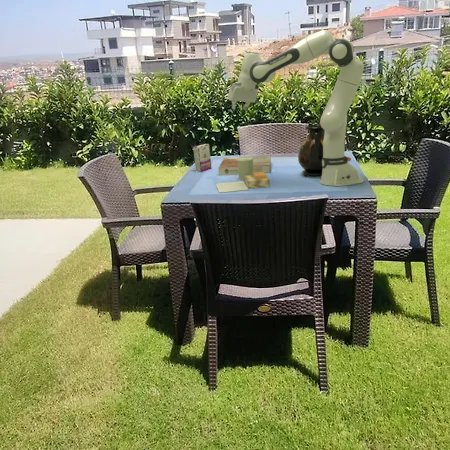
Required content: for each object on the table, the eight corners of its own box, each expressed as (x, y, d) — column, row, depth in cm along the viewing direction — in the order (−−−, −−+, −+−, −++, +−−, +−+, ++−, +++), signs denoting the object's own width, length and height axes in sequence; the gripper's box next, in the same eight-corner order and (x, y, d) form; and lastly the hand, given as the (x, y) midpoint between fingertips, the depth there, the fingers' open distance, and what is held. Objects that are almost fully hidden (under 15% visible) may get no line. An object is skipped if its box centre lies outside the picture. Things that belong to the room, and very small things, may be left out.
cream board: (243, 181, 256) (243, 180, 256) (248, 190, 237) (248, 189, 237) (215, 184, 255) (215, 183, 255) (219, 193, 236) (219, 192, 236)
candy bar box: (206, 168, 300) (203, 143, 295) (211, 168, 298) (209, 144, 292) (195, 171, 292) (192, 146, 287) (200, 172, 289) (198, 147, 284)
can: (240, 180, 259) (239, 160, 255) (237, 177, 267) (235, 157, 263) (255, 178, 260) (254, 158, 256) (251, 175, 269) (250, 156, 265)
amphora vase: (336, 177, 248) (336, 127, 239) (297, 178, 253) (296, 129, 244) (335, 169, 268) (335, 122, 259) (299, 170, 273) (298, 124, 263)
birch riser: (264, 180, 254) (264, 173, 253) (269, 186, 241) (269, 179, 240) (244, 182, 253) (243, 176, 252) (247, 188, 240) (247, 181, 239)
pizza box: (218, 168, 274) (223, 158, 304) (219, 176, 276) (224, 165, 306) (270, 165, 270) (270, 155, 300) (270, 173, 272) (270, 163, 302)
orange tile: (263, 175, 250) (263, 171, 250) (266, 178, 242) (266, 174, 241) (253, 176, 250) (252, 172, 249) (255, 179, 241) (255, 176, 241)
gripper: (237, 83, 227) (231, 110, 232) (261, 86, 242) (254, 111, 247) (228, 80, 230) (222, 106, 236) (252, 83, 245) (246, 108, 251)
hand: (239, 109), depth 241 cm, fingers open, 8 cm apart
